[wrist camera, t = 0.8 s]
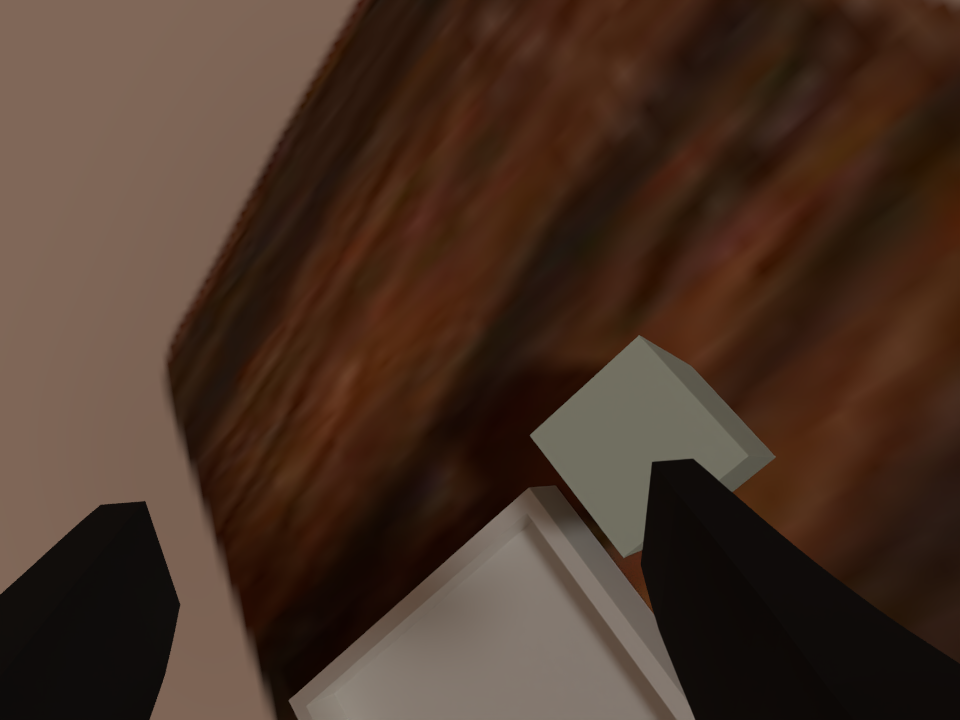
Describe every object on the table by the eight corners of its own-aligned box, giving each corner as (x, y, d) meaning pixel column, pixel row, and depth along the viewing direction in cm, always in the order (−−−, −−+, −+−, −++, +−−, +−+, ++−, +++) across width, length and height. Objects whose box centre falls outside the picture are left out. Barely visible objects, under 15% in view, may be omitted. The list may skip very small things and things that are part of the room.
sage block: (775, 456, 23) (748, 455, 17) (681, 532, 24) (623, 557, 18) (691, 366, 25) (639, 335, 19) (606, 441, 26) (529, 435, 20)
